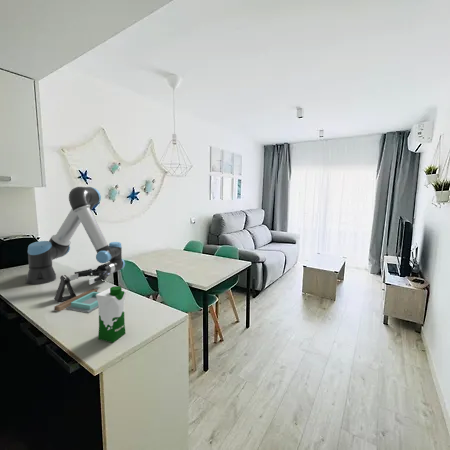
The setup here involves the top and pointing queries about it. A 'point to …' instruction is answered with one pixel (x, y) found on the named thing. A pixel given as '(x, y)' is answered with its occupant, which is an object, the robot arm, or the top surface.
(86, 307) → the cradle
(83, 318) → the top surface
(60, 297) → the phone stand
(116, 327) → the milk carton
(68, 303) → the strip
